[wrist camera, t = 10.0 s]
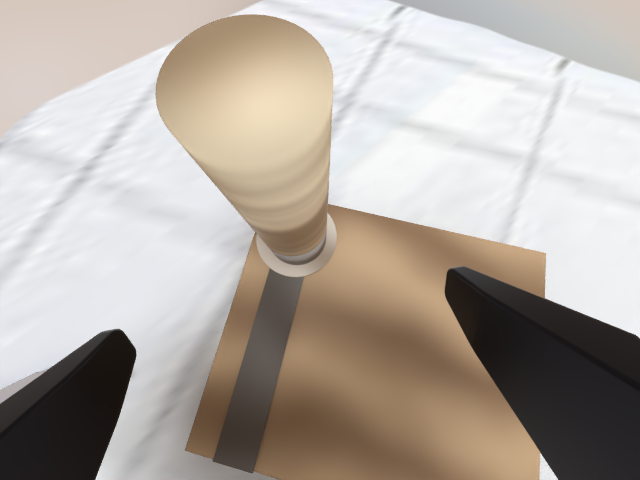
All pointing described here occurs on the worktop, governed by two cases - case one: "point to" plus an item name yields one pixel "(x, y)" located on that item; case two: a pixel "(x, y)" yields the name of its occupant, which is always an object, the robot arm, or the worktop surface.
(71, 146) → the worktop surface
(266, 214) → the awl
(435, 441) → the subfloor panel
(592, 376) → the robot arm
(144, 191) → the worktop surface
